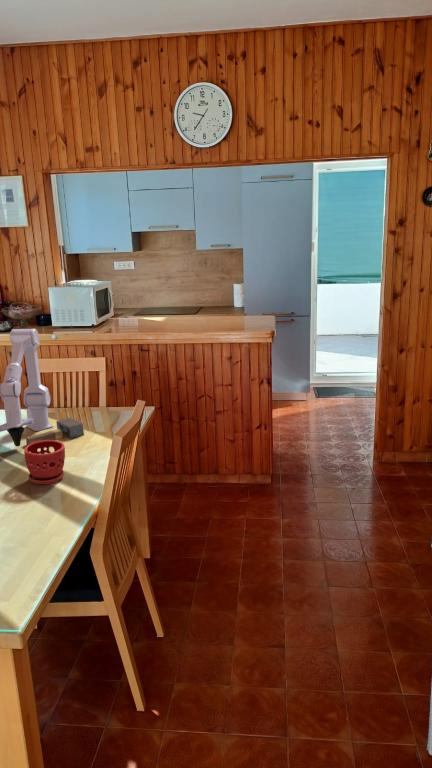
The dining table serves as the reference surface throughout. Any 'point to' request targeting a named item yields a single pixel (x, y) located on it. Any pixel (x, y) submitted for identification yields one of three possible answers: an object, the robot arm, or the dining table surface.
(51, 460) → the plant pot
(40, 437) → the capped rod
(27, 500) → the dining table surface
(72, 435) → the sleeve housing
